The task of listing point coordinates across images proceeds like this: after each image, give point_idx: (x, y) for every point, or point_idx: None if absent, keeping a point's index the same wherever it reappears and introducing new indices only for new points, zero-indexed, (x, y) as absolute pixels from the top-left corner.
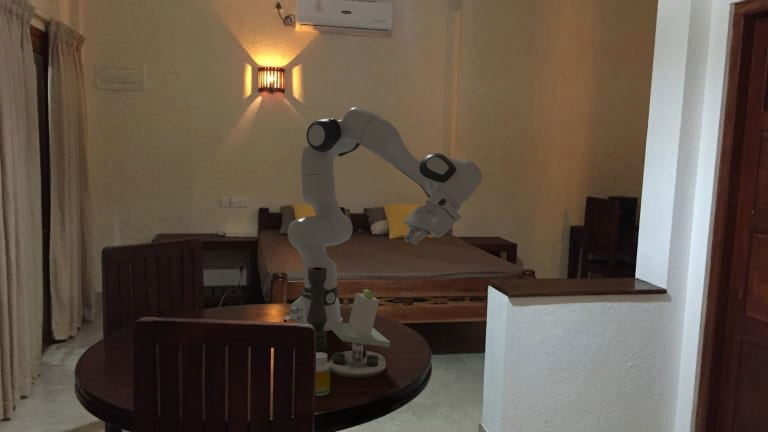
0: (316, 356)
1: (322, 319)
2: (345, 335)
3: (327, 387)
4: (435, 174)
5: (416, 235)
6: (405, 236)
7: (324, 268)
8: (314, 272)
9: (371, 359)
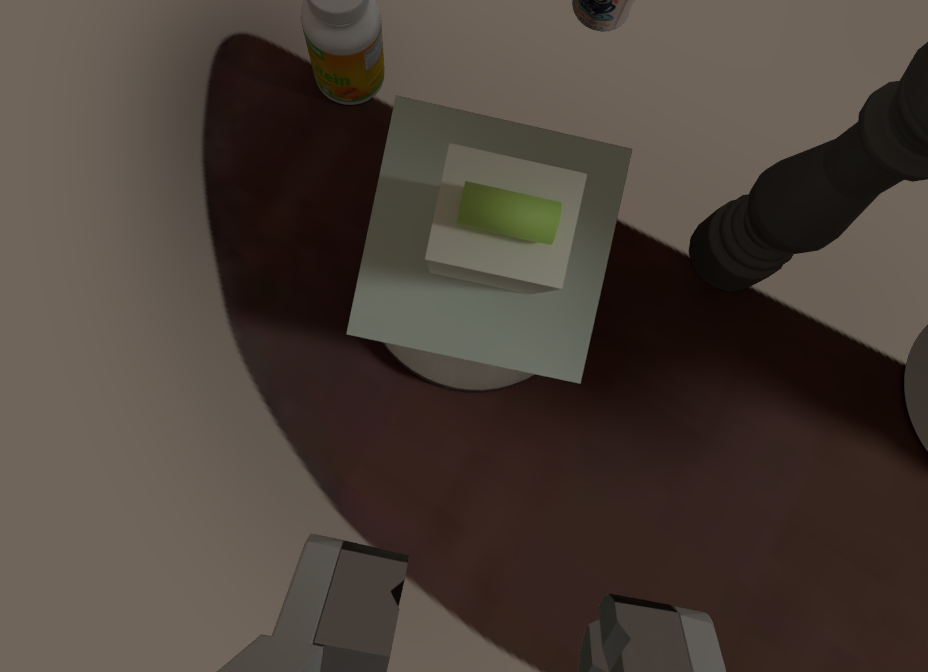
0: None
1: (758, 206)
2: (394, 105)
3: (313, 71)
4: None
5: (271, 664)
6: (706, 644)
7: None
8: None
9: None
